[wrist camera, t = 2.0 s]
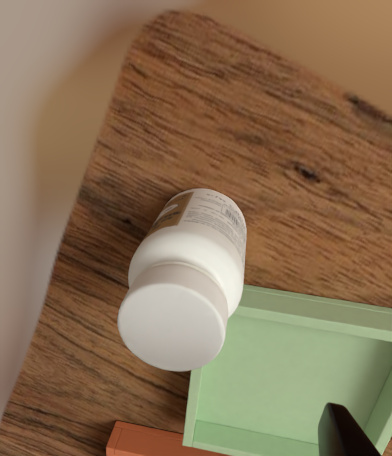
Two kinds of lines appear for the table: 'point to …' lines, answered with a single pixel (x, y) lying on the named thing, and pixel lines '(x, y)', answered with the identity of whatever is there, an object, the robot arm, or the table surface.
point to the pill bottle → (185, 282)
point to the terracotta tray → (149, 442)
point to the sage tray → (292, 375)
